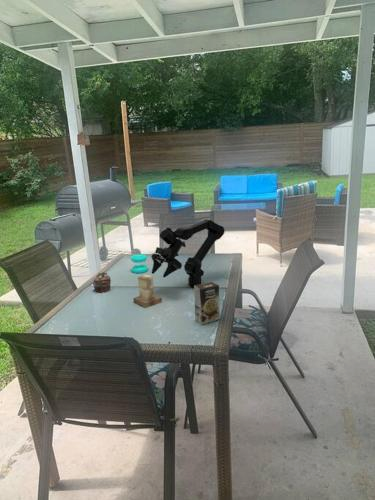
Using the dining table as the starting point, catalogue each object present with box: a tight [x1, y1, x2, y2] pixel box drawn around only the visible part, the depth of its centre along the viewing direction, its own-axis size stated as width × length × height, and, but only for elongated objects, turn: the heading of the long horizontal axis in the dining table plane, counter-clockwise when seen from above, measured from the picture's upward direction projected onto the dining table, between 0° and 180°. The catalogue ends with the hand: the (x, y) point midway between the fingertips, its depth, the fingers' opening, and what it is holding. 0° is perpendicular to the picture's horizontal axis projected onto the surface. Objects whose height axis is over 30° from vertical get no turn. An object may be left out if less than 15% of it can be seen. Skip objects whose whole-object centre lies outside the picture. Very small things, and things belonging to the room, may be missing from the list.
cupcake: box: [92, 271, 112, 294], centre depth 213 cm, size 10×10×10 cm
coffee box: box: [193, 281, 221, 325], centre depth 168 cm, size 9×6×16 cm
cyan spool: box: [130, 253, 149, 274], centre depth 244 cm, size 10×10×10 cm
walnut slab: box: [133, 294, 163, 309], centre depth 193 cm, size 10×10×3 cm
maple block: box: [137, 274, 155, 300], centre depth 191 cm, size 5×5×11 cm
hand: (157, 275), depth 195 cm, fingers open, 9 cm apart
